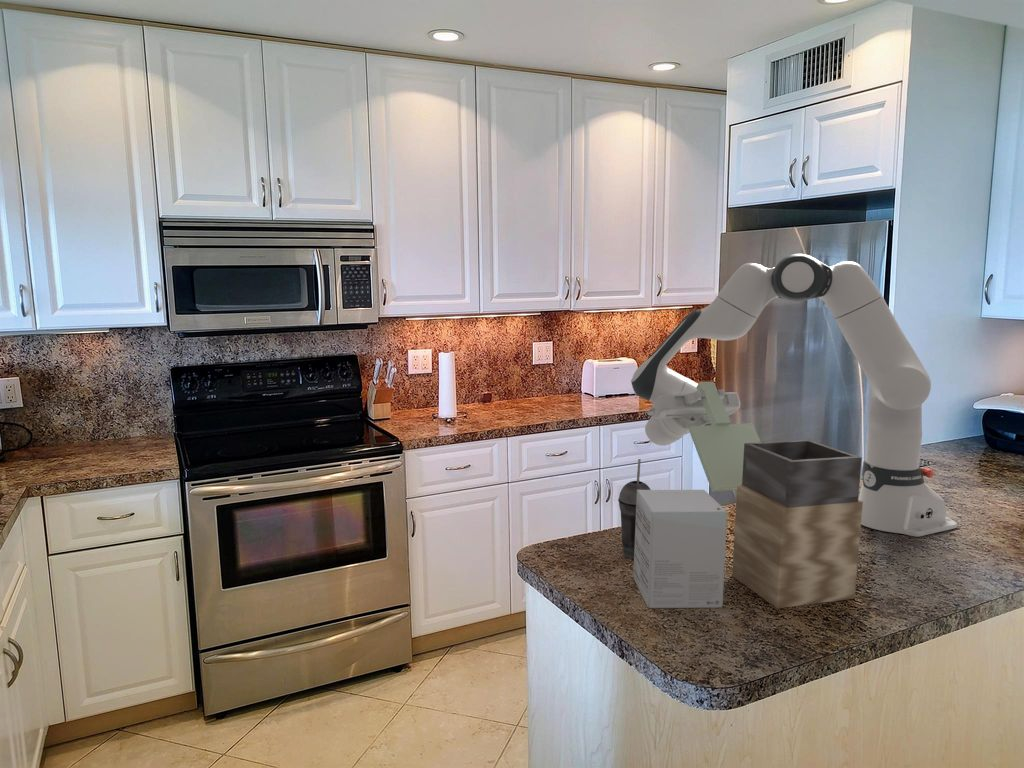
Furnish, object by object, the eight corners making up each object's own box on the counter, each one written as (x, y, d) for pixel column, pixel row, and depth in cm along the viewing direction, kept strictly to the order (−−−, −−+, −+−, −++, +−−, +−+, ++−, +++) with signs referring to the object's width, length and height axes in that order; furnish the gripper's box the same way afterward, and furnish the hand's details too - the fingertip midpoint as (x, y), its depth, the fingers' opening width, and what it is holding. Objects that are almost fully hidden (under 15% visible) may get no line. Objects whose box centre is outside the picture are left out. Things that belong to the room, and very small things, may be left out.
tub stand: (803, 567, 140) (813, 439, 136) (854, 598, 126) (866, 457, 123) (731, 575, 136) (739, 443, 132) (776, 608, 122) (786, 462, 119)
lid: (732, 386, 162) (736, 380, 160) (776, 486, 147) (781, 481, 145) (672, 388, 158) (676, 382, 156) (712, 491, 143) (716, 486, 141)
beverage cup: (611, 557, 144) (614, 462, 141) (623, 545, 150) (626, 454, 148) (646, 564, 141) (649, 466, 138) (656, 552, 147) (660, 458, 144)
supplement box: (701, 577, 135) (705, 488, 133) (723, 608, 122) (729, 511, 120) (632, 577, 135) (635, 488, 132) (647, 609, 122) (651, 511, 119)
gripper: (641, 402, 167) (666, 380, 154) (718, 399, 172) (748, 378, 160) (646, 427, 165) (672, 408, 152) (724, 424, 170) (755, 404, 157)
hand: (712, 392), depth 156 cm, fingers closed on lid, 3 cm apart
